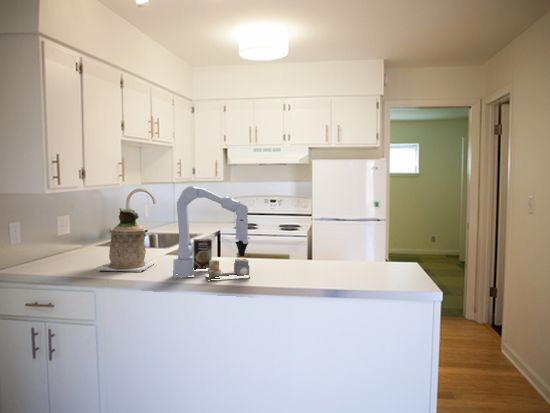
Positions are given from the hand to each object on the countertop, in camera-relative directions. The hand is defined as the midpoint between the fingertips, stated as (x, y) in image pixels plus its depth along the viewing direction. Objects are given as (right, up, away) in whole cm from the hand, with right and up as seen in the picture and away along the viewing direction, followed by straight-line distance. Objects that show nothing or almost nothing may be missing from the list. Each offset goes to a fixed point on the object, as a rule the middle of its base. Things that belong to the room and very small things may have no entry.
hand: (241, 256), depth 198 cm
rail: (-9, -10, -3) cm, 14 cm away
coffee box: (-21, -9, +13) cm, 27 cm away
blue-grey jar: (0, -9, 0) cm, 9 cm away
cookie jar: (-62, -8, +19) cm, 66 cm away
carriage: (-13, -8, -4) cm, 16 cm away
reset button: (0, -4, 0) cm, 4 cm away
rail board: (-7, -10, -1) cm, 12 cm away
